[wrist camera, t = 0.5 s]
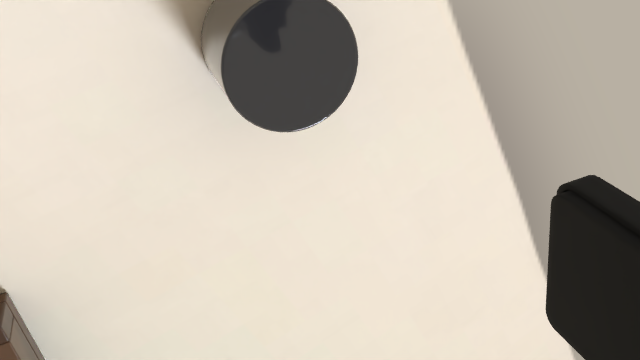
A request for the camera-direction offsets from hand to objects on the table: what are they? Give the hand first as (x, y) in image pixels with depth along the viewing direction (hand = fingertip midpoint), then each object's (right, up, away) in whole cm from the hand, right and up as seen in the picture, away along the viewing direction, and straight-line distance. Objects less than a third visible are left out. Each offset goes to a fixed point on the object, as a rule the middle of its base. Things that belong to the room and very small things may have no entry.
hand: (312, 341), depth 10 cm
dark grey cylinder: (-2, +8, +12) cm, 14 cm away
